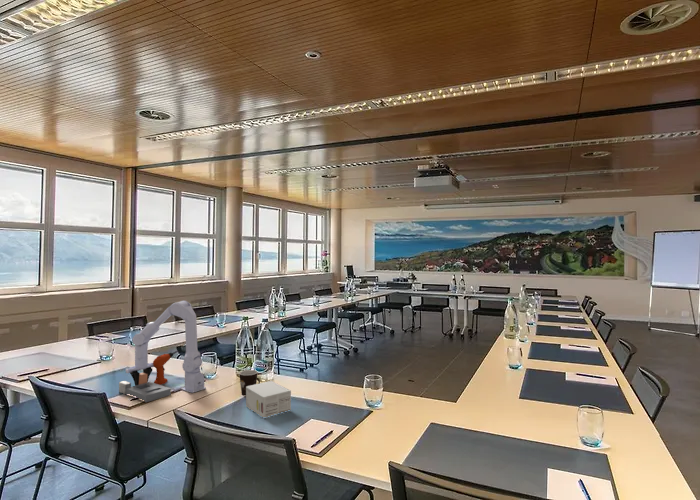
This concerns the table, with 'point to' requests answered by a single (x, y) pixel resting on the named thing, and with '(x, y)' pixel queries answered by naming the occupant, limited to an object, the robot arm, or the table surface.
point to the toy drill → (161, 367)
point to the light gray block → (124, 386)
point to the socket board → (149, 391)
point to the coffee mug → (247, 379)
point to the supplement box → (268, 398)
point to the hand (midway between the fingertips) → (141, 384)
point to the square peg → (142, 378)
